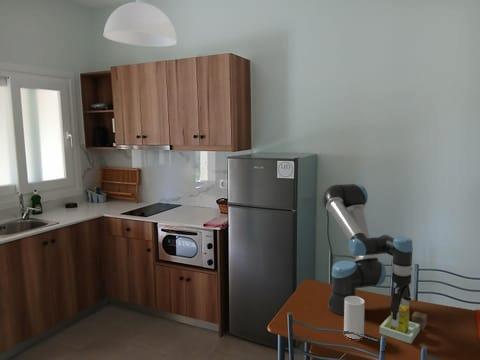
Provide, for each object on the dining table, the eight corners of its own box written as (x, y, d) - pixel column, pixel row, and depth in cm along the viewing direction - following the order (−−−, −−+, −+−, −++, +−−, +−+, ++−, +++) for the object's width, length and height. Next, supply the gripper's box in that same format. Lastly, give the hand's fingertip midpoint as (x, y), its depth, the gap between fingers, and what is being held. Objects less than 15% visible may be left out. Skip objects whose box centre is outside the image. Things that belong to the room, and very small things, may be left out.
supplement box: (389, 330, 157) (390, 306, 156) (394, 325, 161) (395, 302, 160) (404, 335, 153) (405, 311, 152) (408, 329, 157) (409, 306, 156)
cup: (364, 341, 151) (365, 305, 149) (344, 339, 152) (345, 303, 151) (362, 331, 159) (363, 296, 157) (343, 329, 160) (343, 295, 159)
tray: (379, 333, 157) (379, 326, 156) (389, 321, 166) (389, 315, 166) (410, 343, 148) (411, 337, 148) (419, 330, 158) (419, 324, 158)
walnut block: (411, 325, 163) (412, 315, 162) (414, 321, 166) (415, 311, 166) (423, 329, 159) (424, 318, 159) (426, 325, 163) (427, 314, 162)
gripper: (401, 284, 142) (399, 334, 145) (419, 266, 161) (417, 311, 164) (382, 280, 147) (381, 328, 150) (401, 263, 166) (400, 306, 168)
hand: (400, 319), depth 157 cm, fingers open, 13 cm apart
